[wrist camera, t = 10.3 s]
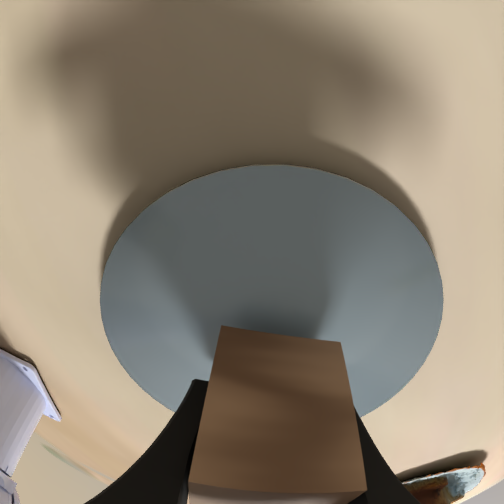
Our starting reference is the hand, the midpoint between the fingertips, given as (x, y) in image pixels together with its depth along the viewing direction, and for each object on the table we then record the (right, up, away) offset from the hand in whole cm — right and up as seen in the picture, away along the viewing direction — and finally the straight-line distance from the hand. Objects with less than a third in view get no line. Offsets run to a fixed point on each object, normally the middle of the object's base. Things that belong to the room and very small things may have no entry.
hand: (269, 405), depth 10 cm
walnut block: (0, +1, +1) cm, 2 cm away
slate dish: (0, +2, +3) cm, 4 cm away
